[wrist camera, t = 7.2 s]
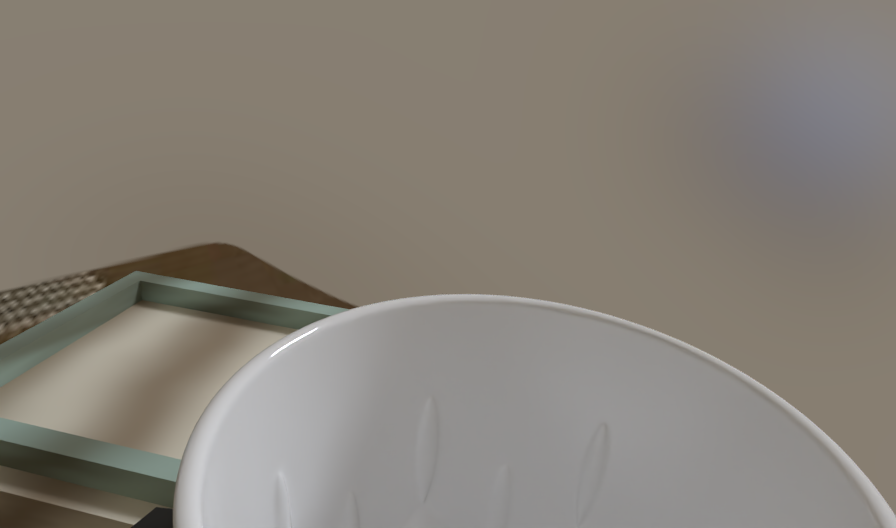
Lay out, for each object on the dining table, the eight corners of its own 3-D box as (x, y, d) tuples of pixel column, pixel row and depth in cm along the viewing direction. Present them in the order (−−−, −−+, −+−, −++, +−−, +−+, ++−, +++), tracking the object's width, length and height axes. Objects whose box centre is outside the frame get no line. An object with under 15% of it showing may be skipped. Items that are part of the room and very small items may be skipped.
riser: (-134, 532, 24) (-174, 421, 22) (140, 339, 38) (132, 262, 36) (248, 639, 21) (242, 524, 19) (388, 388, 36) (392, 308, 34)
